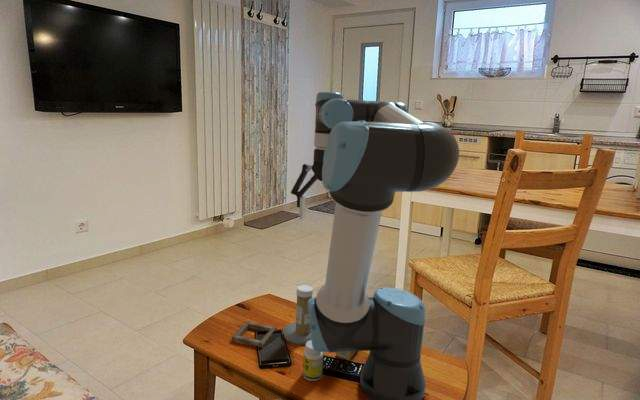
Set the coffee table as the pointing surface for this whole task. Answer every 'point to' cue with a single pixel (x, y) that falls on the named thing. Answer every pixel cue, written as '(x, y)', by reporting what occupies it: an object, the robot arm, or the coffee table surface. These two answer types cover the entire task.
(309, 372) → the supplement bottle
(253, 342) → the gray square frame
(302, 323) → the sprinkles bottle
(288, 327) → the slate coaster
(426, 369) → the coffee table surface
